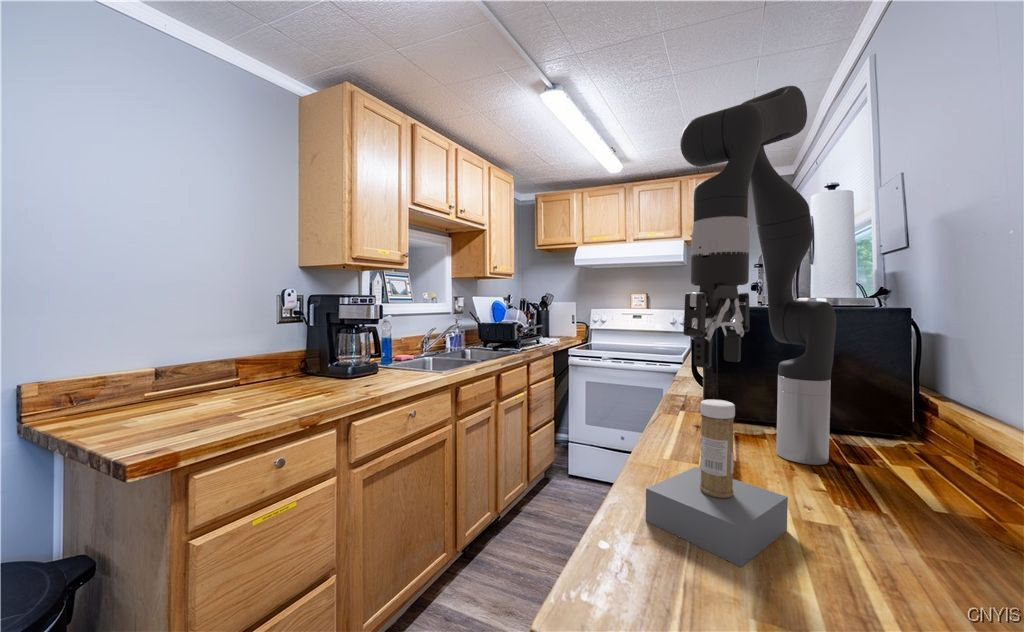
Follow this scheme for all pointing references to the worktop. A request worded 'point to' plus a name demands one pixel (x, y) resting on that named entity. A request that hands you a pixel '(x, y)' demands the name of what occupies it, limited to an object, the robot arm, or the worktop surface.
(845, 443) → the worktop surface
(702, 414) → the spice jar
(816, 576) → the worktop surface
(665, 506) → the grey block
